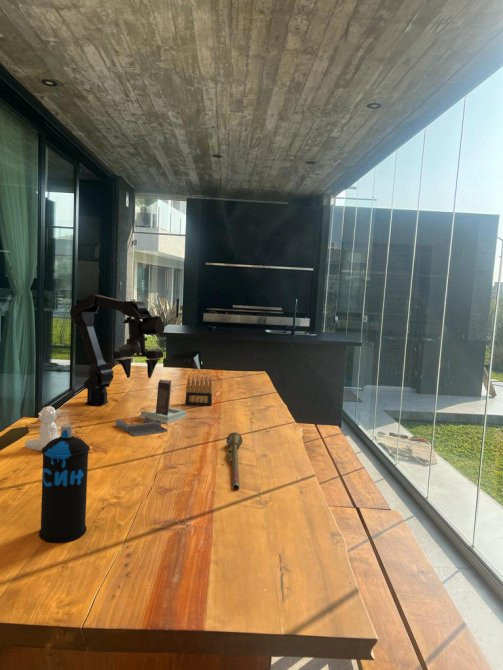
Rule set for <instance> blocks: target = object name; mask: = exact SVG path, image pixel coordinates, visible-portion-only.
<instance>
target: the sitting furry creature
mask: <svg viewBox="0 0 503 670" xmlns="http://www.w3.org/2000/svg"><path fill="white" fill-rule="evenodd" d="M60 414H61V409H55V407H53V406H49V405H48V406H45V407H43V408H42V409H41V410H40V411H39V412H38V420H40V421H41V424H40V427H39V430H38V435H39V437H38V439H37V438H30V439H28V440H26V441H25V442H24V447H25V448H27V449H28V450H33V451H36V452H37V451H39V452H42V448H43V447H45V446H46V445H47V444H48V443H49V442H50V441H51V440H53V439H55V438H58V437H60V436H61V435H59V430H58V426H57V424H56V422H55V421H56V419H57V417H58V415H60Z"/></svg>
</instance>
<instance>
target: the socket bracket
mask: <svg viewBox="0 0 503 670" xmlns="http://www.w3.org/2000/svg"><path fill="white" fill-rule="evenodd" d="M115 426H116V427H118V428H119V429H121V430H122V431H124V432H126V433H127V434H129V435H131V436H133V437H140V436H147V435H153V434H161V433H167V432H169V431H168V429H167V428H166V427H163V426H162V422H160V421H158V420H156V419H154V418H152V417H150V416H145V419H144V422H143V423H136V424H130V423H127V422H126V421H124V420H122V419H120V418H118V419H115Z"/></svg>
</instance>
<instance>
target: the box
mask: <svg viewBox="0 0 503 670" xmlns="http://www.w3.org/2000/svg"><path fill="white" fill-rule="evenodd" d="M171 387H172V380H170V379H159V381H158V383H157V394H156V406H155V407H156V408H155V410H156V414H160V415H165V416H168V413H169V408H170V404H171V402H170V401H171V400H170V399H171Z"/></svg>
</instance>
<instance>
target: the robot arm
mask: <svg viewBox="0 0 503 670" xmlns="http://www.w3.org/2000/svg"><path fill="white" fill-rule="evenodd" d="M100 307H101V308H107V309H110V310H115V311H118V312H120V313H122V315H125V316H127V317H126V318H125V320H123V322H122V323H123V324H127V325H128V338H126V343H125V344H123V345H122V346H120V347H119V348H118V350H114V351H113V352H112V359H113V360H115V361H116V362H118V363H119V364H121V367H122V369H123V371H124V374H125V376H126V378H127V379H129V378H130V376H131V369H132V358H146V359H145V362H146V365H147V368H146V369H147V370H146V371H147V378H148V379H151V378H152V375H153V373H154V371H155V368H156V366H157V364H158V362H159V361H160V360H161V359H162V358H164V352H163V350H162V349H153V350H152V349H151V350H148V348H146V341H148V337H146V336H162V335H163V334H164V332H165V324H164V321H163V320H162V319H161V317H162V316H160V315H154V316H153V315H152V314H151V313H150V312H149V309H148V308H147V306H146V303H145V302H144V301H139V300H138V301H136V300H133V301H132V300H122V299H117V298H113V297H108V296H106V295H105V296H104V295H101V294H96V293H95V294H93V293H92V294H90V295H88V297H87V298H84V299H82V300H81V301H80V302H77V303H76V304H74V305H72V306H71V308H70V310H69V315H70V317H71V319H72V321H73V324H75V325H76V327H78V329H79V330H80V333H81V337H82V340H83V344H84V346H85V350H86V353H87V356H88V360H89V363H90V364H89V370H88V374H89V376H88V378H87V379H86V381H84V383H83V387H84V389H85V390H87V396H86V397H87V398H86V402H85V403H84V404H85V405H88V406H89V405H90V406H97V407H98V406H99V407H100V406H103V405H106V404H108V392H107V388H110V385H111V383H112V382H113V379H114V373H115V372H114V370H113V368H112V364H111V363H110V362H108V363H107V362H106V361H105V359H104V358H103V354H102V351H101V348H100V345H99V344H100V343H99V341H98V338H97V334H96V331H95V328H94V322H95V313H96V312H98V310H99V309H100Z"/></svg>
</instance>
